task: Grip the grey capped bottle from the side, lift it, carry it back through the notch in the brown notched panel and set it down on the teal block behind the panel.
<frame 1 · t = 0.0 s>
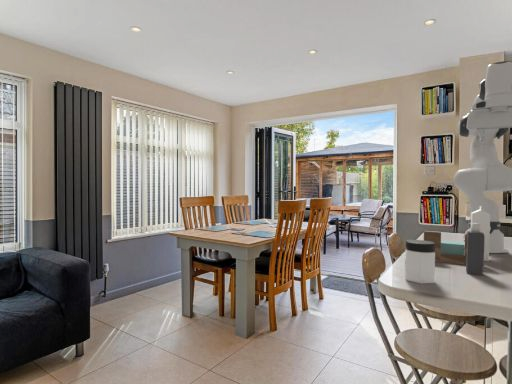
hand: (497, 139, 124), 48 cm above the table, tool pointing down, fingers open, 8 cm apart
grey capped bottle: (474, 273, 110), on the table
brown notched panel: (452, 262, 125), on the table
milk: (479, 259, 132), on the table
jar: (419, 280, 100), on the table
teal block: (451, 259, 130), on the table
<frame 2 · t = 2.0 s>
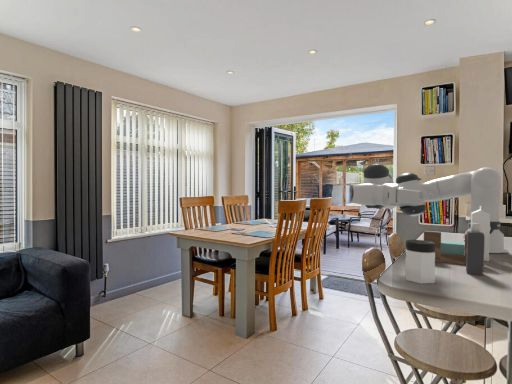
hand: (435, 196, 116), 26 cm above the table, tool horizontal, fingers open, 8 cm apart
nothing on the table moved.
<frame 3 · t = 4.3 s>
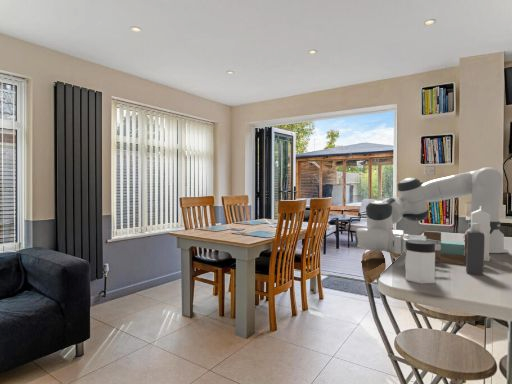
hand: (440, 245, 115), 8 cm above the table, tool horizontal, fingers open, 8 cm apart
nothing on the table moved.
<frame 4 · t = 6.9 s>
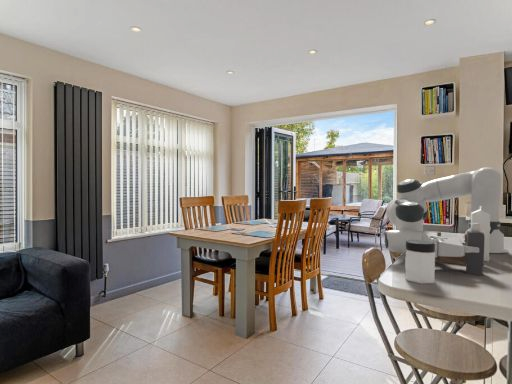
hand: (478, 248, 109), 9 cm above the table, tool horizontal, fingers closed on grey capped bottle, 4 cm apart
grey capped bottle: (474, 273, 110), on the table, touching gripper
everything else where it was.
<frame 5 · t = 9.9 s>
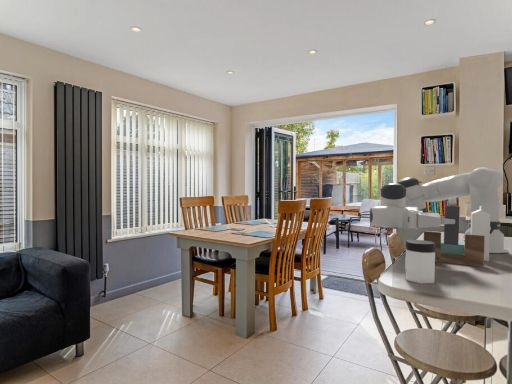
hand: (454, 220, 118), 17 cm above the table, tool horizontal, fingers closed on grey capped bottle, 4 cm apart
grey capped bottle: (450, 243, 119), point 8 cm above the table, touching gripper
everything else where it was.
when the fingers open (17 cm above the table, at t = 13.0 s): grey capped bottle drops 1 cm, resting on teal block.
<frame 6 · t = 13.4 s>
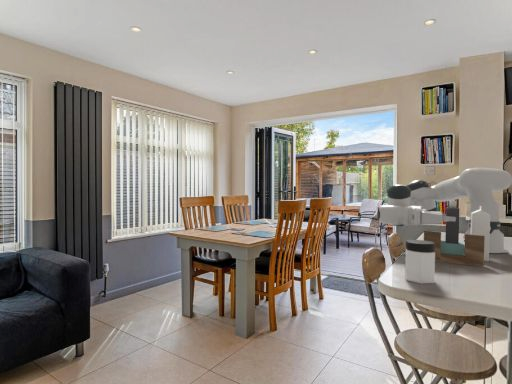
hand: (455, 218, 130), 17 cm above the table, tool horizontal, fingers open, 8 cm apart
grey capped bottle: (451, 242, 130), point 7 cm above the table, touching teal block
everything else where it was.
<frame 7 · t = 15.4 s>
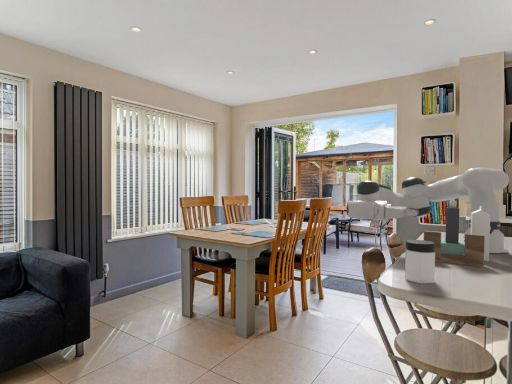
hand: (417, 212, 135), 18 cm above the table, tool horizontal, fingers open, 8 cm apart
nothing on the table moved.
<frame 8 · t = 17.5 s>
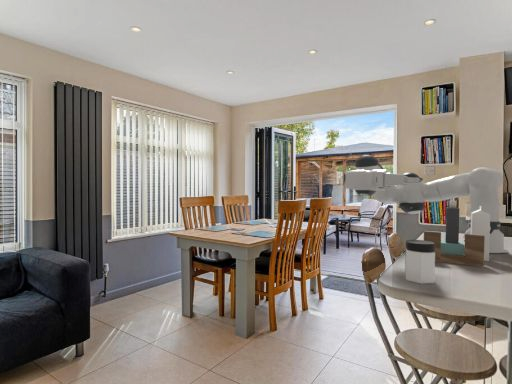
hand: (419, 180, 127), 32 cm above the table, tool horizontal, fingers open, 8 cm apart
nothing on the table moved.
at the end: grey capped bottle inside the target area on the teal block (0.1 cm from its centre), point 7.0 cm above the teal block's base; grey capped bottle tilted 0°; the gripper is holding nothing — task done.
